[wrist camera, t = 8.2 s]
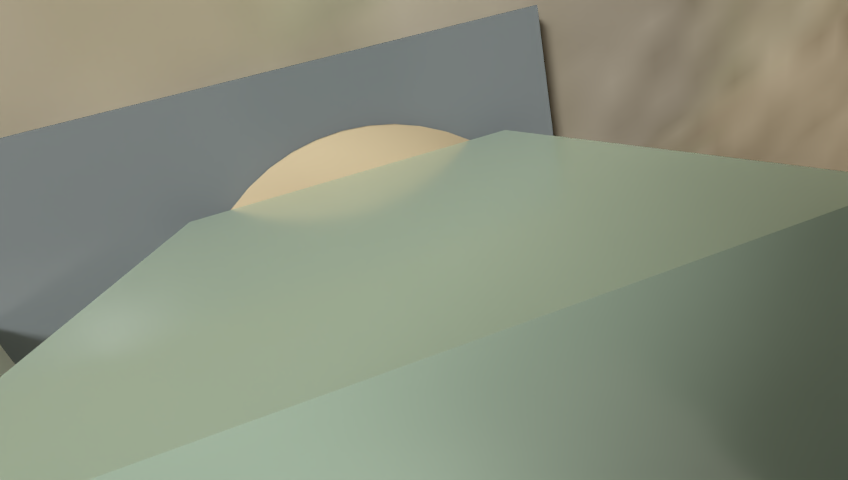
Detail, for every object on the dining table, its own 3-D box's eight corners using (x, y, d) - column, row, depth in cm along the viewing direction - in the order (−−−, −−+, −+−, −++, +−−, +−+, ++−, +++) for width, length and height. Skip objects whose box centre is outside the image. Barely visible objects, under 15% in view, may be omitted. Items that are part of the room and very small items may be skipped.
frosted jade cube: (545, 372, 12) (809, 693, 5) (308, 463, 11) (278, 982, 4) (504, 129, 9) (918, 181, 3) (189, 221, 8) (-291, 616, 2)
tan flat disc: (568, 376, 13) (575, 385, 12) (288, 484, 11) (286, 497, 11) (526, 80, 9) (534, 78, 9) (131, 188, 8) (122, 192, 8)
